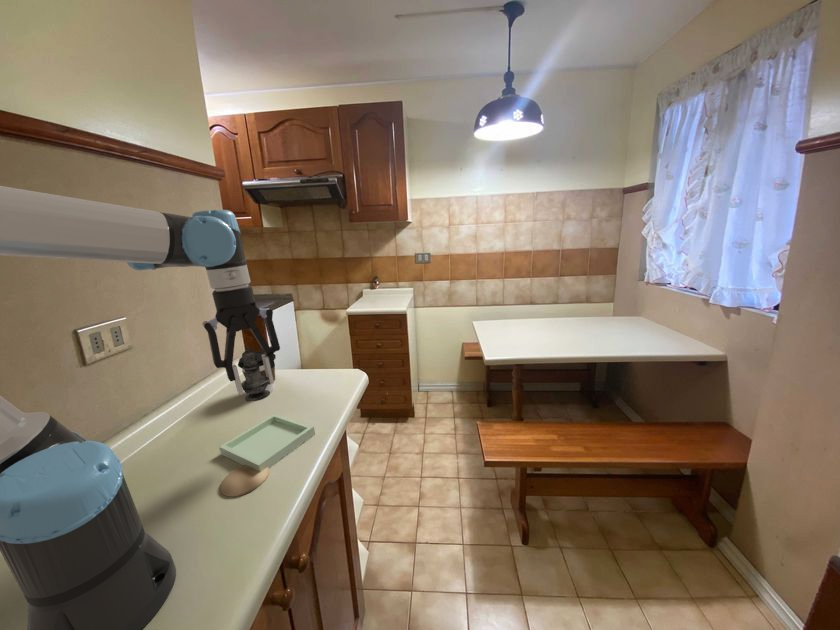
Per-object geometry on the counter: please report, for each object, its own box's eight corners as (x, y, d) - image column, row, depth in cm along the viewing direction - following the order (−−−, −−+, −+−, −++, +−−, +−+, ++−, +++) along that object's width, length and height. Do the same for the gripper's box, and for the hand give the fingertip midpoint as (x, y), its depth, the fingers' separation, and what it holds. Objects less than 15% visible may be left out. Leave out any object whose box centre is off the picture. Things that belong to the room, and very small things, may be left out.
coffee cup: (251, 386, 114) (243, 352, 111) (285, 380, 116) (278, 347, 113) (240, 402, 104) (231, 365, 100) (278, 396, 105) (270, 360, 102)
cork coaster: (237, 502, 64) (237, 500, 64) (211, 487, 69) (211, 485, 69) (278, 471, 72) (277, 469, 71) (252, 459, 76) (251, 458, 76)
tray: (260, 473, 72) (258, 465, 71) (221, 454, 79) (219, 446, 79) (315, 434, 84) (313, 426, 83) (276, 420, 91) (274, 413, 91)
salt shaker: (260, 402, 75) (250, 351, 72) (237, 401, 76) (226, 351, 73) (276, 390, 80) (267, 342, 77) (254, 389, 81) (244, 342, 78)
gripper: (180, 298, 63) (211, 409, 69) (282, 280, 74) (302, 377, 80) (176, 294, 69) (206, 397, 75) (272, 278, 80) (291, 368, 86)
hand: (255, 386), depth 78 cm, fingers closed on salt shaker, 6 cm apart
